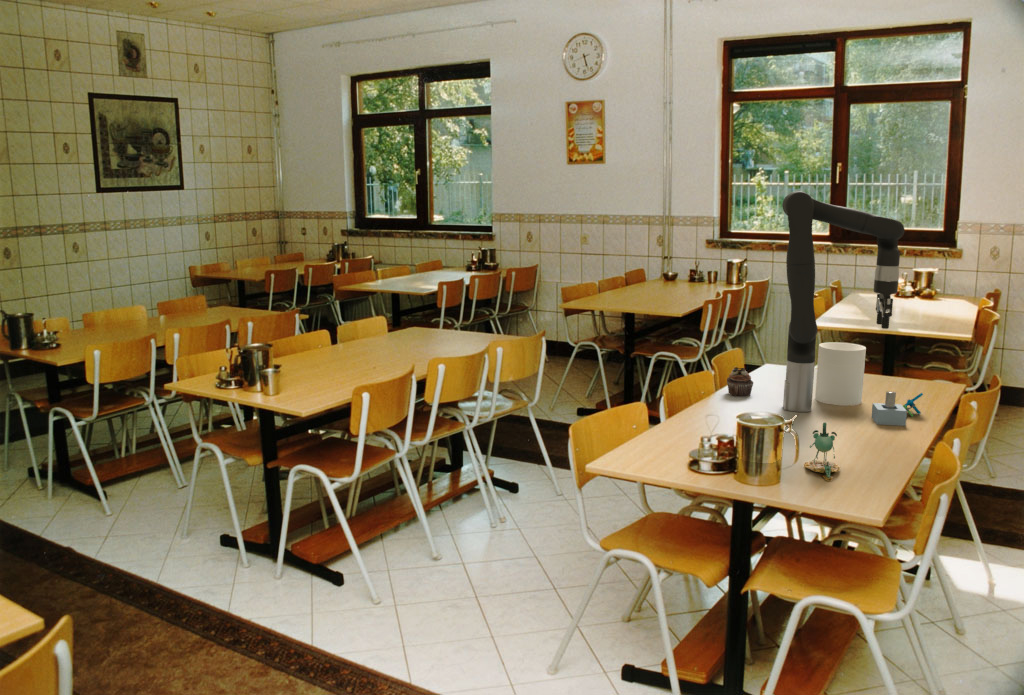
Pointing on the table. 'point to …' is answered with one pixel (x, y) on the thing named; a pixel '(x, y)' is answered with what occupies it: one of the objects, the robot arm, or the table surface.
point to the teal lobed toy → (912, 405)
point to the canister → (840, 373)
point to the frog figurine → (824, 445)
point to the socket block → (889, 414)
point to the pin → (890, 400)
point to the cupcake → (739, 383)
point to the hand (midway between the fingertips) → (882, 326)
